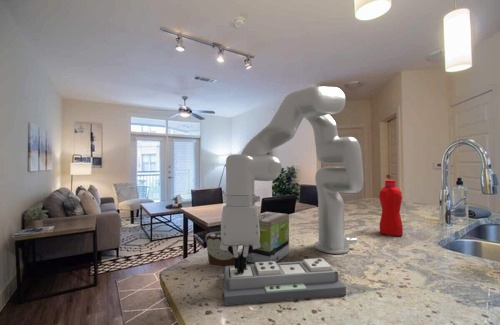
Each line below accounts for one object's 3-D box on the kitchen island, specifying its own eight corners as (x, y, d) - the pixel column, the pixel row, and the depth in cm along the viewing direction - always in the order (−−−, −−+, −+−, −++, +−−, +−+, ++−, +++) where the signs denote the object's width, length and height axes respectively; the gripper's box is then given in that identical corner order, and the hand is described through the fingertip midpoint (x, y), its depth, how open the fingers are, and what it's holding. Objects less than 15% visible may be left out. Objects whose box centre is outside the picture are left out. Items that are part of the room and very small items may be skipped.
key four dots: (274, 268, 67) (274, 260, 67) (279, 277, 62) (279, 269, 62) (255, 270, 67) (255, 261, 67) (258, 279, 61) (258, 270, 61)
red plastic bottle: (402, 231, 115) (402, 179, 115) (402, 237, 106) (401, 180, 106) (380, 229, 120) (380, 179, 120) (379, 234, 111) (378, 180, 111)
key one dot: (298, 271, 68) (298, 263, 68) (306, 280, 63) (305, 271, 63) (279, 272, 68) (279, 264, 68) (285, 282, 62) (285, 273, 62)
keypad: (321, 270, 74) (321, 255, 74) (345, 295, 60) (345, 276, 60) (223, 277, 70) (223, 261, 70) (224, 305, 56) (224, 285, 56)
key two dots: (250, 273, 66) (250, 265, 66) (253, 283, 61) (253, 274, 61) (229, 275, 66) (229, 266, 66) (231, 285, 60) (230, 276, 60)
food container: (246, 262, 81) (246, 232, 81) (239, 269, 75) (239, 237, 75) (213, 257, 85) (213, 229, 85) (204, 264, 79) (204, 234, 79)
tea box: (271, 268, 76) (270, 221, 76) (244, 261, 81) (244, 217, 81) (289, 253, 88) (289, 213, 89) (265, 248, 94) (265, 210, 94)
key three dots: (322, 265, 69) (322, 257, 69) (331, 274, 64) (331, 265, 64) (303, 266, 68) (303, 258, 69) (311, 275, 63) (311, 266, 63)
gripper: (265, 198, 68) (265, 263, 68) (212, 199, 66) (211, 266, 66) (270, 202, 61) (271, 275, 60) (211, 203, 59) (211, 279, 58)
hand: (240, 270), depth 63 cm, fingers closed
